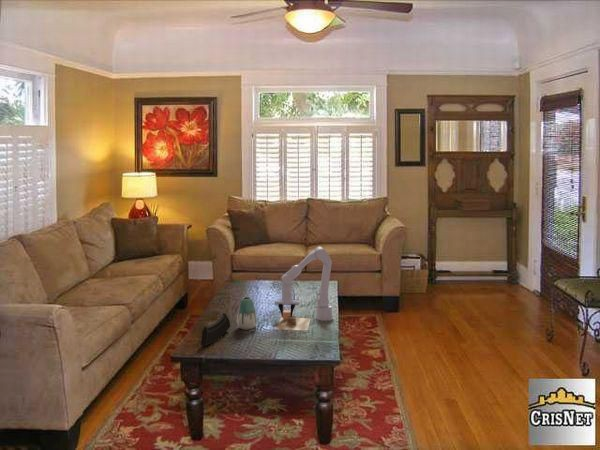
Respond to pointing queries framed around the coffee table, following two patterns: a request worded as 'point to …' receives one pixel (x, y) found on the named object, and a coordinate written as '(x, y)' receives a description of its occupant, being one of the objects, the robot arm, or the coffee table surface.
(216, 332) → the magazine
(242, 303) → the vase
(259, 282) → the coffee table surface
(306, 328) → the birch board
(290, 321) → the walnut block
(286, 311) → the terracotta block
